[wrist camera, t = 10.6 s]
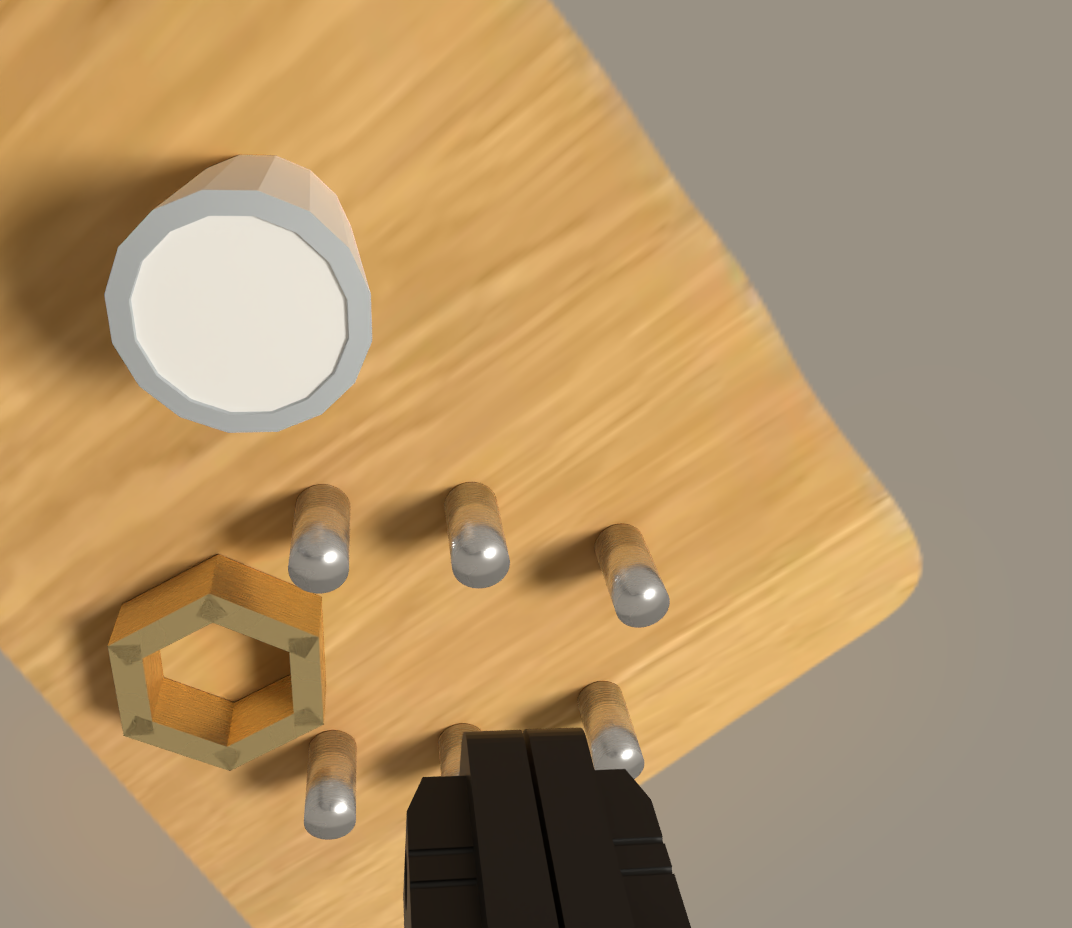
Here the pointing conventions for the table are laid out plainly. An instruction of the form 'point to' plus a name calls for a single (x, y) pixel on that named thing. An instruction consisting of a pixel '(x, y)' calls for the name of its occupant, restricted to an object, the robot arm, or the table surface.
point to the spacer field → (476, 565)
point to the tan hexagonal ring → (197, 716)
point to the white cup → (243, 298)
